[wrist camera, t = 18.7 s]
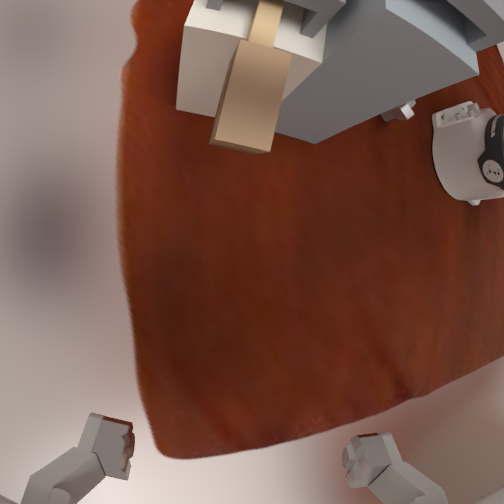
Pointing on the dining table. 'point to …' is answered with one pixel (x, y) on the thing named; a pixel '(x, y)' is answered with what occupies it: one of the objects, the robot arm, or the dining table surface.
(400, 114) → the lighter
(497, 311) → the dining table surface
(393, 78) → the stand
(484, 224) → the dining table surface
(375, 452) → the robot arm
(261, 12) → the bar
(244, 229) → the dining table surface
